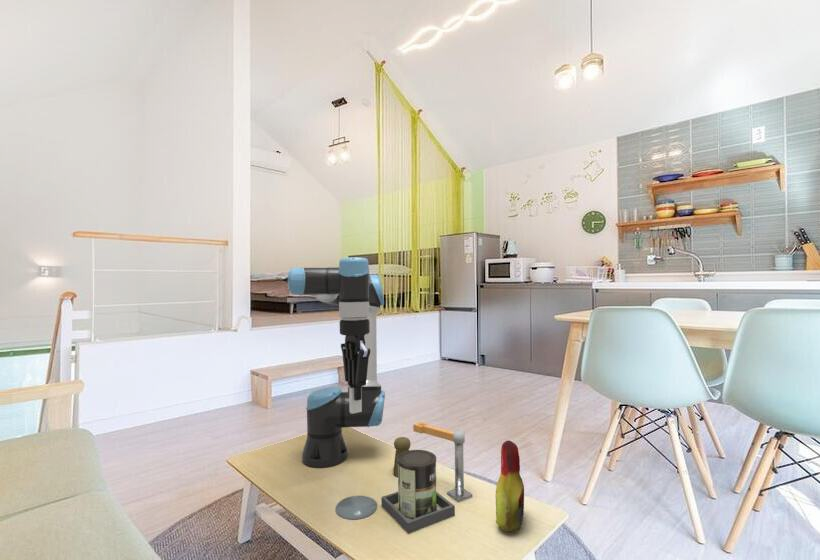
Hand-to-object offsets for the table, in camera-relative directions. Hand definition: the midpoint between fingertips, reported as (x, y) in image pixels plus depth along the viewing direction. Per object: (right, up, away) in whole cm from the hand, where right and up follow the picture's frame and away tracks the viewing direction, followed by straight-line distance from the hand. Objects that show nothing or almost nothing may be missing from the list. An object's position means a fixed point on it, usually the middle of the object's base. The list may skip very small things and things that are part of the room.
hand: (355, 411), depth 102 cm
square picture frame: (+16, -27, +4) cm, 32 cm away
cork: (+11, -28, +25) cm, 39 cm away
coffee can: (+16, -28, +4) cm, 32 cm away
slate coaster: (-1, -28, +6) cm, 28 cm away
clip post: (+28, -27, +11) cm, 41 cm away
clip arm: (+22, -12, +16) cm, 30 cm away
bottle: (+39, -27, -2) cm, 48 cm away
